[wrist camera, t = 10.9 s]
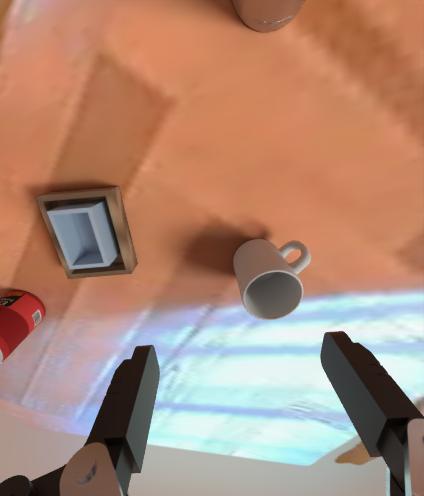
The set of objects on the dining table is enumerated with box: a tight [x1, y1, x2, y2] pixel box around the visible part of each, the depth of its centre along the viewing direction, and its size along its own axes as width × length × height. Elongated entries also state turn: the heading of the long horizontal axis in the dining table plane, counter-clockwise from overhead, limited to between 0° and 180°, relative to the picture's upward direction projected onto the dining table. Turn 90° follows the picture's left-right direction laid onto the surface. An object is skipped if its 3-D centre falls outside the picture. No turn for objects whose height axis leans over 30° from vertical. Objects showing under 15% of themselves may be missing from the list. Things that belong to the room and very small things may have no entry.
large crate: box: [35, 186, 138, 279], centre depth 35 cm, size 14×11×4 cm
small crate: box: [47, 200, 120, 269], centre depth 34 cm, size 9×6×5 cm, turn 5°
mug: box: [233, 239, 311, 320], centre depth 35 cm, size 12×8×11 cm
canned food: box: [0, 291, 45, 364], centre depth 38 cm, size 8×8×11 cm
